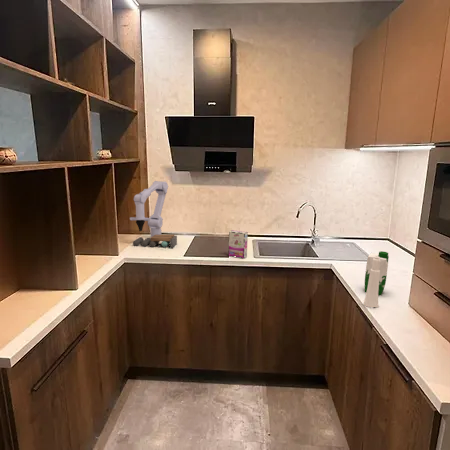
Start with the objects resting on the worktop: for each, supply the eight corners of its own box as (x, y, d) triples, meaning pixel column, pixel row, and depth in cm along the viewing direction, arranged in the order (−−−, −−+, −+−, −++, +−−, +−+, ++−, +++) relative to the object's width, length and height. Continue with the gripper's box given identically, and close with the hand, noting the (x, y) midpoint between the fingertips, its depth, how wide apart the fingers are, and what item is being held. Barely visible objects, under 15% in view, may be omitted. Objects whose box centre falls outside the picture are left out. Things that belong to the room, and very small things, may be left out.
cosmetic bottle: (375, 309, 140) (381, 259, 136) (361, 304, 144) (366, 256, 140) (380, 305, 144) (386, 257, 140) (366, 300, 149) (372, 253, 144)
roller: (165, 248, 226) (168, 243, 226) (160, 244, 226) (163, 240, 225) (168, 244, 236) (171, 240, 235) (164, 241, 236) (167, 236, 235)
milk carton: (382, 297, 153) (387, 255, 149) (361, 292, 158) (366, 252, 154) (385, 291, 160) (390, 251, 156) (365, 286, 165) (370, 248, 161)
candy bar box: (247, 257, 210) (248, 231, 207) (244, 259, 206) (244, 233, 202) (231, 254, 215) (232, 229, 212) (228, 256, 211) (228, 231, 208)
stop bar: (174, 244, 236) (174, 235, 235) (176, 244, 236) (176, 235, 235) (170, 248, 225) (170, 239, 224) (172, 248, 225) (172, 239, 224)
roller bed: (138, 242, 239) (138, 237, 238) (170, 244, 236) (170, 238, 235) (132, 245, 229) (132, 240, 228) (166, 247, 226) (166, 242, 225)
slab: (155, 237, 237) (155, 234, 236) (174, 237, 235) (174, 234, 234) (150, 241, 227) (150, 237, 226) (170, 241, 225) (170, 237, 225)
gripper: (127, 212, 226) (128, 231, 228) (148, 213, 224) (148, 232, 227) (131, 210, 233) (132, 229, 235) (151, 211, 231) (152, 230, 234)
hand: (140, 230), depth 231 cm, fingers closed
